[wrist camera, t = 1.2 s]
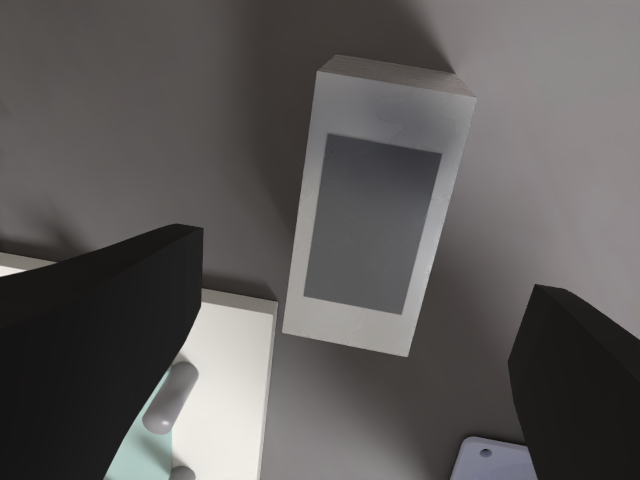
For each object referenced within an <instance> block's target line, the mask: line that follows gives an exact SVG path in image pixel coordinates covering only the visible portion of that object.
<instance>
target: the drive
mask: <svg viewBox="0 0 640 480" xmlns="http://www.w3.org/2000/svg"><path fill="white" fill-rule="evenodd" d="M476 102H477V97H476V95H475V94H474V93H473V92H472V91H471V90H470V89H469V88H468V87H467V86H466V84H465V83H464V82H463V81H462V80H461V79H460V78H459V77H458V76H457V74H456V73H450V72H444V71H438V70H432V69H426V68H419V67H413V66H407V65H401V64H395V63H389V62H383V61H377V60H371V59H365V58H359V57H353V56H347V55H340V54H336V55H335V56H333V57H332V58H331V59H330V60H329V61H328V62H327V63H326V64H324V65H323V66H322V67H321V68H320V69H319V70H318V71H317V75H316V82H315V90H314V97H313V105H312V112H311V120H310V127H309V135H308V142H307V150H306V157H305V165H304V172H303V179H302V187H301V194H300V202H299V209H298V217H297V224H296V232H295V239H294V247H293V254H292V262H291V269H290V277H289V284H288V291H287V299H286V306H285V314H284V321H283V329H282V333H286V334H291V335H297V336H302V337H307V338H312V339H317V340H322V341H327V342H332V343H337V344H342V345H347V346H353V347H358V348H363V349H368V350H373V351H378V352H383V353H388V354H393V355H398V356H403V357H408V353H409V350H410V346H411V342H412V339H413V335H414V331H415V328H416V324H417V320H418V316H419V313H420V309H421V305H422V302H423V298H424V294H425V291H426V287H427V283H428V279H429V276H430V272H431V268H432V265H433V261H434V257H435V253H436V250H437V246H438V242H439V239H440V235H441V231H442V228H443V224H444V220H445V216H446V213H447V209H448V205H449V202H450V198H451V194H452V191H453V187H454V183H455V179H456V176H457V172H458V168H459V165H460V161H461V157H462V154H463V150H464V146H465V142H466V139H467V135H468V131H469V128H470V124H471V120H472V117H473V113H474V109H475V105H476Z"/></svg>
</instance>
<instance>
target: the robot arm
mask: <svg viewBox="0 0 640 480" xmlns="http://www.w3.org/2000/svg"><path fill="white" fill-rule="evenodd" d="M202 262H203V228H201V227H195V226H189V225H183V224H172V225H168V226H164V227H161V228H158V229H155V230H152V231H149V232H146V233H144V234H141V235H138V236H135V237H133V238H130V239H127V240H124V241H122V242H119V243H116V244H113V245H111V246H108V247H105V248H102V249H99V250H96V251H93V252H90V253H87V254H83V255H80V256H77V257H74V258H71V259H68V260H65V261H62V262H58V263H55V264H51V265H47V266H44V267H40V268H36V269H32V270H27V271H23V272H19V273H14V274H10V275H5V276H0V480H103V479H104V477H105V475H106V473H107V471H108V469H109V467H110V465H111V463H112V461H113V459H114V457H115V455H116V453H117V451H118V449H119V447H120V445H121V443H122V441H123V439H124V438H125V436H126V434H127V433H128V431H129V429H130V427H131V426H132V424H133V422H134V421H135V419H136V418H137V416H138V414H139V413H140V411H141V410H142V408H143V407H144V405H145V404H146V402H147V401H148V399H149V398H150V396H151V395H152V393H153V391H154V390H155V388H156V387H157V385H158V384H159V382H160V381H161V379H162V378H163V376H164V375H165V373H166V372H167V370H168V368H169V367H170V365H171V364H172V362H173V361H174V359H175V358H176V356H177V354H178V353H179V351H180V350H181V348H182V346H183V345H184V343H185V341H186V339H187V337H188V335H189V333H190V331H191V329H192V327H193V324H194V322H195V320H196V318H197V315H198V313H199V311H200V308H201V299H202ZM508 368H509V375H510V383H511V389H512V395H513V401H514V405H515V408H516V412H517V415H518V419H519V422H520V425H521V428H522V432H523V435H524V438H525V441H526V445H527V446H521V445H516V444H511V443H506V442H500V441H495V440H490V439H485V438H479V437H469V438H466V439H465V440H464V441H463V443H462V445H461V448H460V451H459V454H458V457H457V460H456V463H455V466H454V469H453V472H452V475H451V478H450V480H640V340H639V339H638V338H636V337H635V336H633V335H632V334H631V333H629V332H628V331H626V330H625V329H624V328H622V327H621V326H620V325H618V324H617V323H615V322H614V321H613V320H611V319H610V318H608V317H607V316H606V315H604V314H603V313H601V312H600V311H599V310H597V309H596V308H594V307H593V306H592V305H590V304H589V303H587V302H586V301H584V300H583V299H581V298H580V297H578V296H576V295H575V294H573V293H571V292H569V291H568V290H566V289H562V288H556V287H550V286H544V285H538V284H535V285H534V288H533V291H532V294H531V297H530V300H529V302H528V305H527V308H526V311H525V314H524V317H523V319H522V322H521V325H520V328H519V331H518V334H517V337H516V339H515V342H514V345H513V348H512V351H511V354H510V356H509V359H508ZM483 449H489V450H486V451H483Z"/></svg>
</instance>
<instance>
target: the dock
mask: <svg viewBox="0 0 640 480" xmlns="http://www.w3.org/2000/svg"><path fill="white" fill-rule="evenodd" d="M55 263H58V262H52V261H46V260H41V259H35V258H30V257H24V256H18V255H13V254H7V253H2V252H0V276H5V275H10V274H14V273H19V272H23V271H27V270H32V269H36V268H40V267H44V266H47V265H51V264H55ZM277 309H278V302H276V301H271V300H265V299H259V298H254V297H248V296H243V295H237V294H231V293H226V292H220V291H215V290H209V289H203V288H202V299H201V308H200V311H199V313H198V315H197V318H196V320H195V322H194V324H193V327H192V329H191V331H190V333H189V335H188V337H187V339H186V341H185V343H184V345H183V346H182V348H181V350H180V351H179V353H178V354H177V356H176V358H175V359H174V361H173V362H172V364H171V365H170V367H169V368H168V370H167V372H166V373H165V375H164V376H163V378H162V379H161V381H160V382H159V384H158V385H157V387H156V388H155V390H154V391H153V393H152V395H151V396H150V398H149V399H148V401H147V402H146V404H145V405H144V407H143V408H142V410H141V411H140V413H139V414H138V416H137V418H136V419H135V421H134V422H133V424H132V426H131V427H130V429H129V431H128V433H127V434H126V436H125V438H124V439H123V441H122V443H121V445H120V447H119V449H118V451H117V453H116V455H115V457H114V459H113V461H112V463H111V465H110V467H109V469H108V471H107V473H106V475H105V477H104V479H103V480H260V470H261V461H262V452H263V442H264V433H265V423H266V414H267V404H268V395H269V385H270V376H271V366H272V357H273V347H274V338H275V328H276V319H277Z"/></svg>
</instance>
